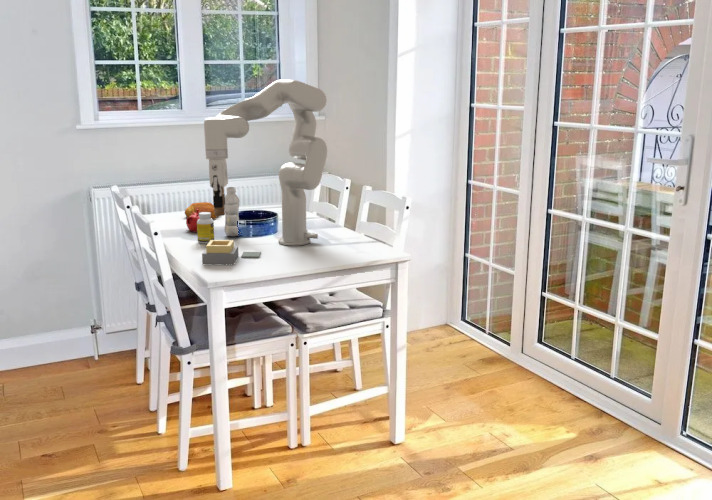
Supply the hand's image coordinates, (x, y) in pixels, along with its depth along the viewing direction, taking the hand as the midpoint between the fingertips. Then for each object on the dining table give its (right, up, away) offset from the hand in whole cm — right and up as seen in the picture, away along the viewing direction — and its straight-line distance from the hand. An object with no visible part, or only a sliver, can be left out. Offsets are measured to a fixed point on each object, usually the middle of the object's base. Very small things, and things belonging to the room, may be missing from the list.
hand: (219, 205), depth 249 cm
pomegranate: (-19, -8, +51) cm, 54 cm away
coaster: (+10, -18, +12) cm, 23 cm away
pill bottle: (-11, -13, +31) cm, 36 cm away
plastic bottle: (-2, -10, +41) cm, 43 cm away
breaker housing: (0, -19, +5) cm, 20 cm away
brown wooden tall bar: (0, -3, +1) cm, 3 cm away
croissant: (-22, -1, +76) cm, 79 cm away
